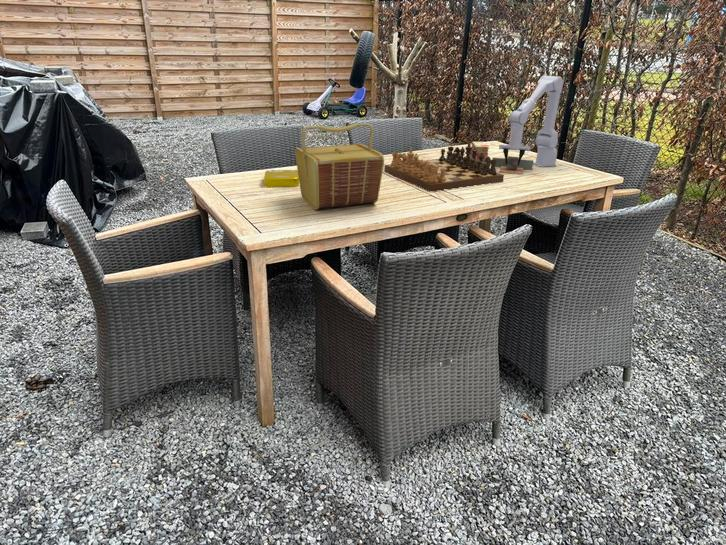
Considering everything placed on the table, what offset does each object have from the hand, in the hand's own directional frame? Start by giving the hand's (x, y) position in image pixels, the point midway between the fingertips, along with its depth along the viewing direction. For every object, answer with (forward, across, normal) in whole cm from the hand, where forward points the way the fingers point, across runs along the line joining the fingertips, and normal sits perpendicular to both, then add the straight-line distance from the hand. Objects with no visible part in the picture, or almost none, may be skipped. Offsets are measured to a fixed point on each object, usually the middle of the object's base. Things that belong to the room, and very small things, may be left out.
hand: (512, 164), depth 254 cm
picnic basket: (+3, -64, -76) cm, 100 cm away
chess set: (+4, -31, -22) cm, 38 cm away
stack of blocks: (+4, -18, +5) cm, 19 cm away
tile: (+3, 0, 0) cm, 3 cm away
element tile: (+4, -98, -57) cm, 113 cm away
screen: (+3, 0, +7) cm, 8 cm away
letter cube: (+2, 0, 0) cm, 2 cm away
